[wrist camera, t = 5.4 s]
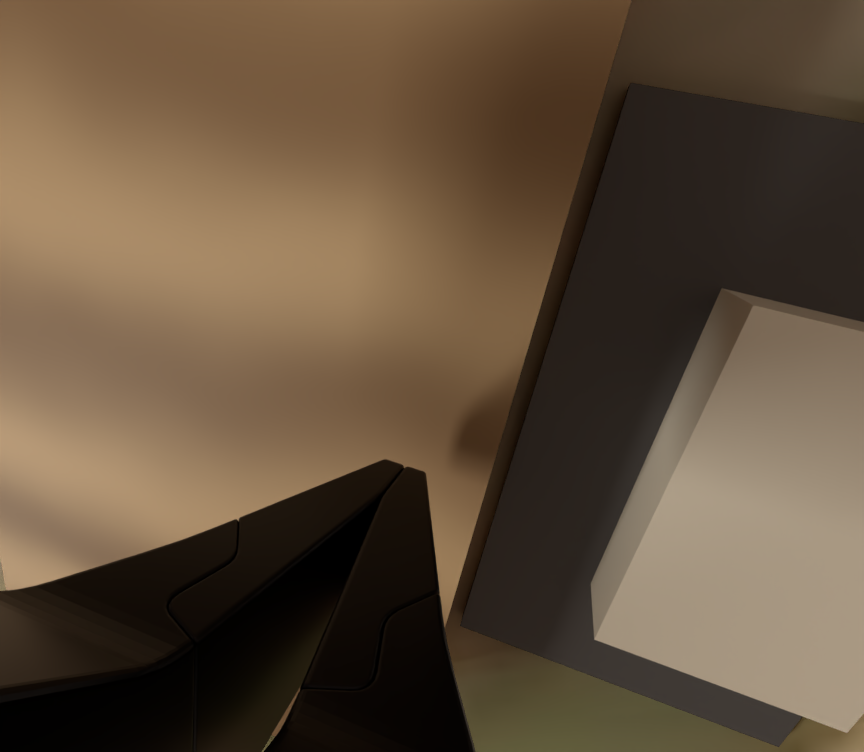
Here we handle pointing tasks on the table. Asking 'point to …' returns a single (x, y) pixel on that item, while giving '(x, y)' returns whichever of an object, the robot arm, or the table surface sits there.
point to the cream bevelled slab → (752, 516)
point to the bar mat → (659, 354)
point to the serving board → (272, 254)
